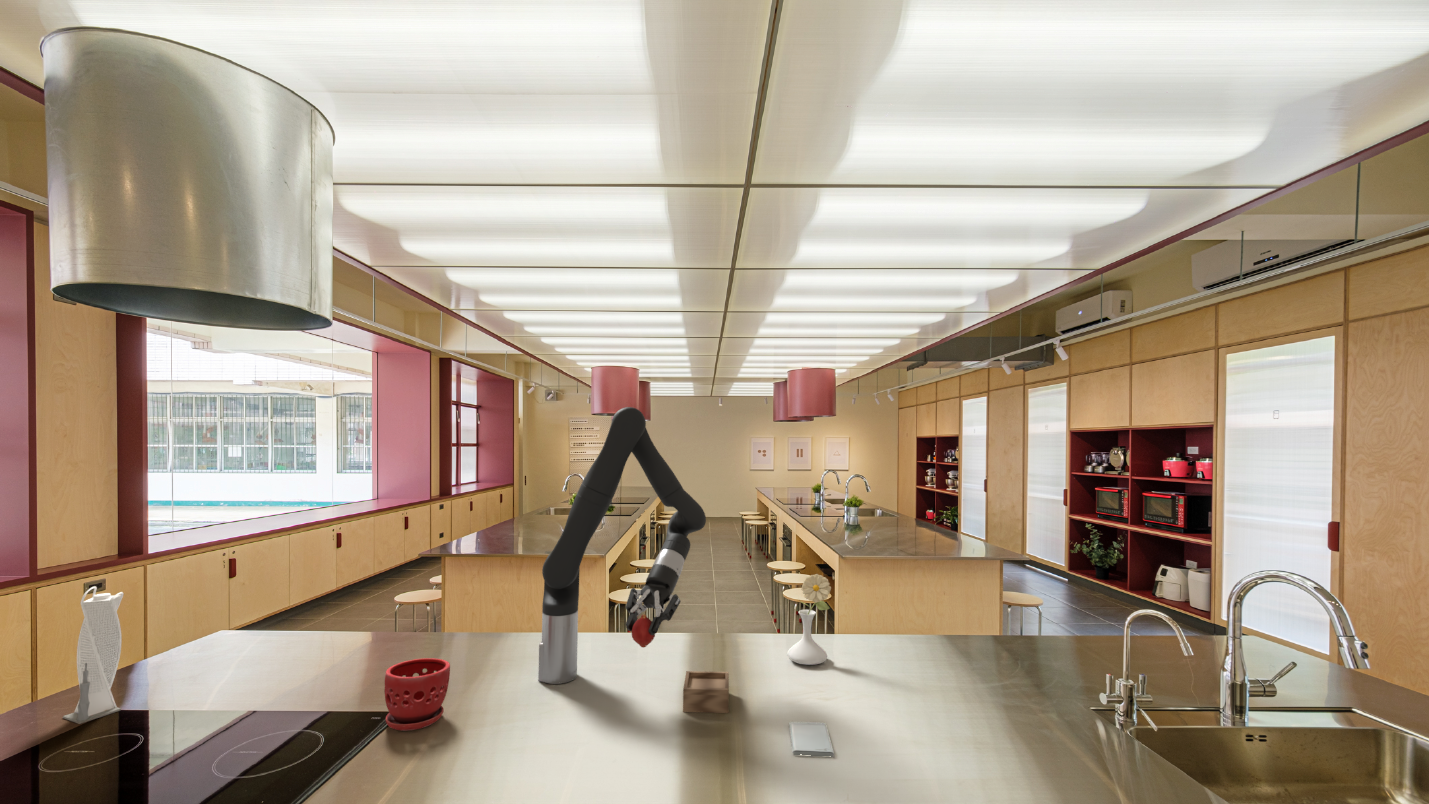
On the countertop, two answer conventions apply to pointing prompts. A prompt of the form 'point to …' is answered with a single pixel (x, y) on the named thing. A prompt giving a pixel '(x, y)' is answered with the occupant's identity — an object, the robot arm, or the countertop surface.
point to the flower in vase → (807, 648)
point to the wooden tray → (706, 692)
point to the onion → (642, 631)
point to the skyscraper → (97, 656)
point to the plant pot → (416, 693)
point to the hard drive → (810, 739)
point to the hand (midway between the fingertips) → (639, 631)
